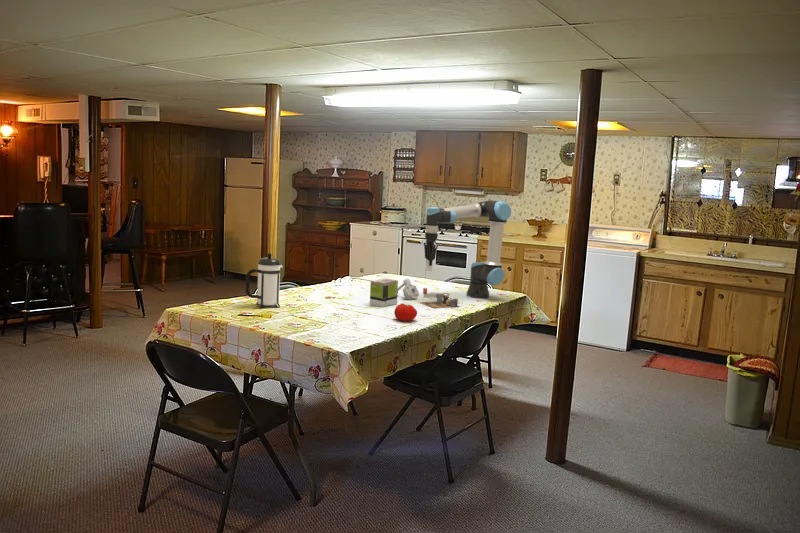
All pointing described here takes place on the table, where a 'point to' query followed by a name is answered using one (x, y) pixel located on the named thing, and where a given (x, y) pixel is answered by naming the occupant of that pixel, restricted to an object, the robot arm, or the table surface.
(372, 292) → the tea box
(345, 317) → the table surface
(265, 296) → the coffee press
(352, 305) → the table surface
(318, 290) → the table surface
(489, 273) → the robot arm
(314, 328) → the table surface
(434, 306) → the board
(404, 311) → the tomato
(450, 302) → the walnut
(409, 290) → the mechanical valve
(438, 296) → the lever
